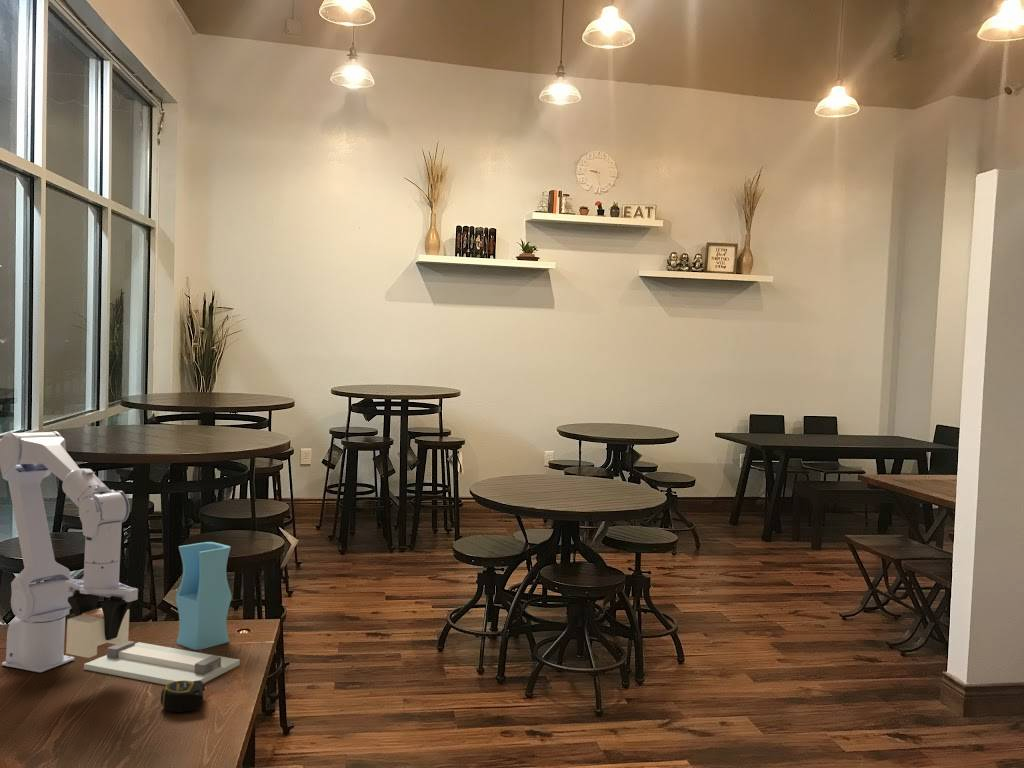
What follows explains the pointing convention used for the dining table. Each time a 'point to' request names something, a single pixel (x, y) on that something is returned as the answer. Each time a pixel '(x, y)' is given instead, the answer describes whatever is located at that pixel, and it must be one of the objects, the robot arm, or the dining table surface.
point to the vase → (203, 595)
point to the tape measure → (182, 696)
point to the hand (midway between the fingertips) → (98, 636)
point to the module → (92, 633)
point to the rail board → (160, 663)
